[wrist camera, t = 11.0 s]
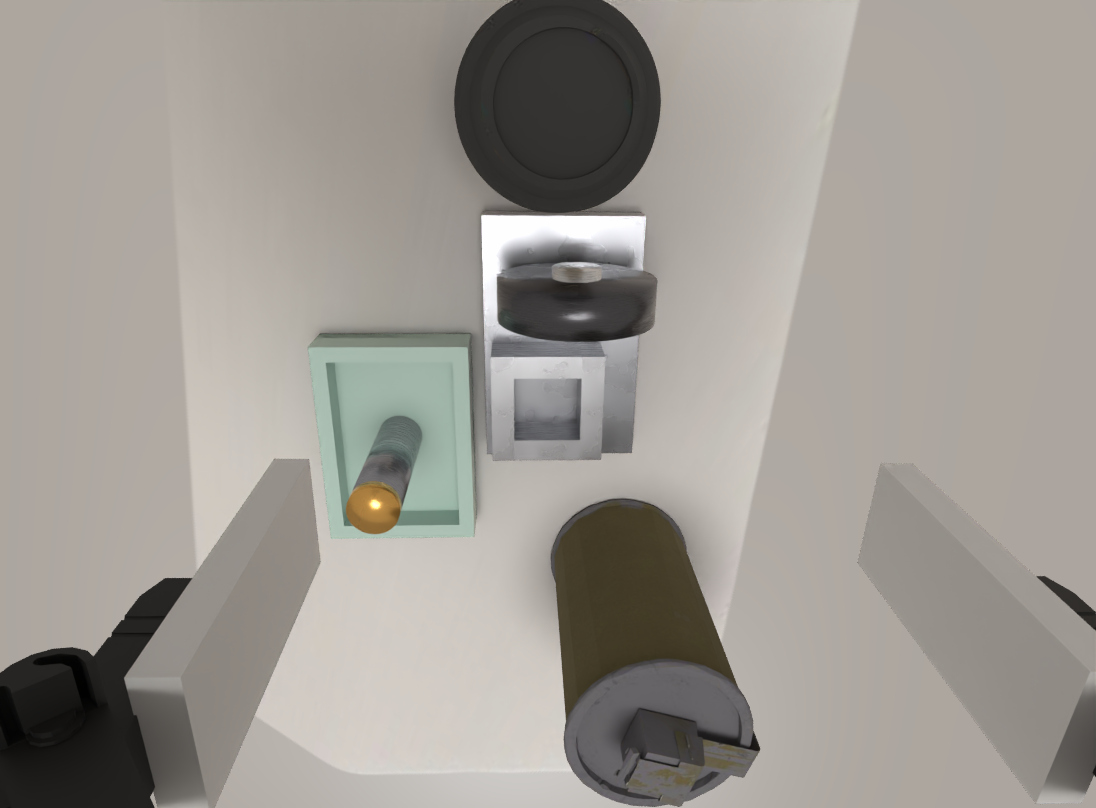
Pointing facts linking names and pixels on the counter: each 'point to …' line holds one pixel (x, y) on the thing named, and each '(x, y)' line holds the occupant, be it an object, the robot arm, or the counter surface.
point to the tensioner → (563, 331)
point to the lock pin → (385, 476)
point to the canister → (643, 662)
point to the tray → (398, 390)
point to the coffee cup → (557, 103)
